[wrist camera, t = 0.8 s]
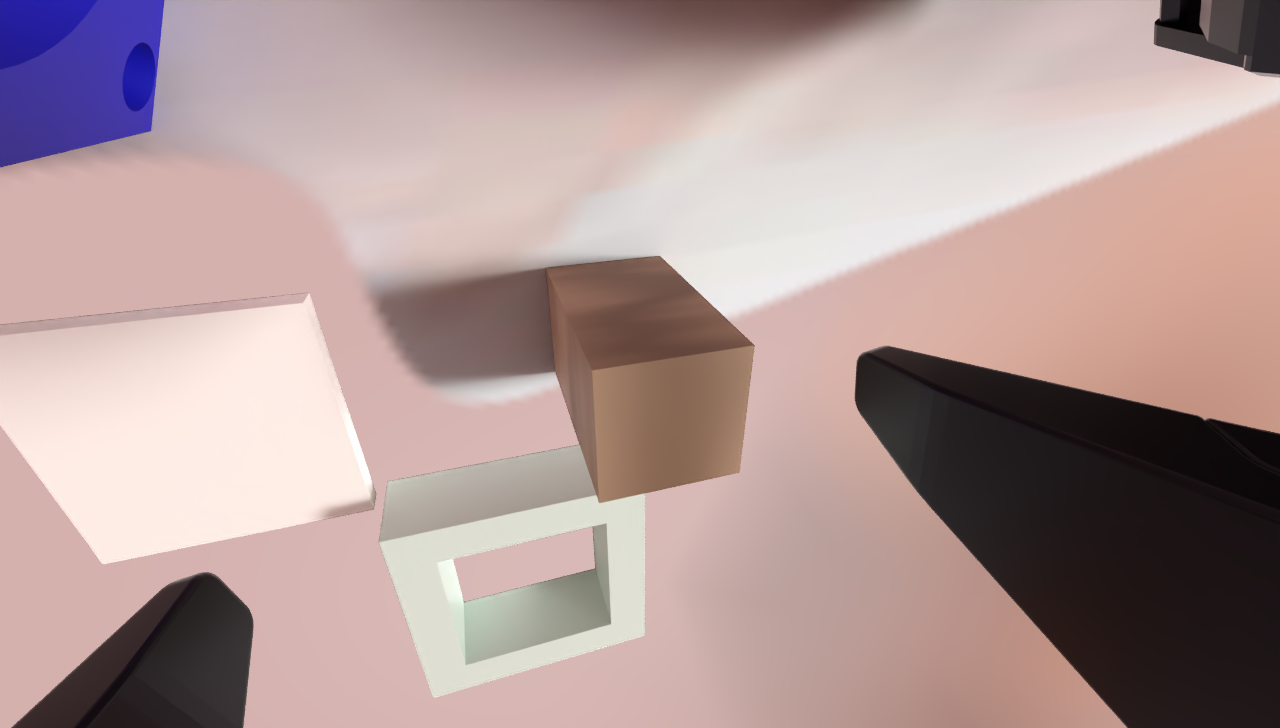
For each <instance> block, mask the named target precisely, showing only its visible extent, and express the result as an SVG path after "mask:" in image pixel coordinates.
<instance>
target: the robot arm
mask: <svg viewBox="0 0 1280 728" xmlns="http://www.w3.org/2000/svg"><path fill="white" fill-rule="evenodd" d="M1154 44H1155V45H1157V46H1161V47H1165V48H1168V49H1172V50H1176V51H1180V52H1184V53H1188V54H1192V55H1196V56H1200V57H1203V58H1207V59H1211V60H1215V61H1219V62H1223V63H1227V64H1231V65H1235V66H1238V67H1242V68H1244V70H1246V71H1249V72H1252V73H1254V74H1257V75H1260V76H1269V77H1280V0H1160V18H1159V19H1158V20H1157V21H1155V28H1154ZM855 402H856V405H857V408H858V411H859V412H860V414H861V416H862V417H863V418H864V420H865V421H866V422H867V424H868V425H869V427H870V428H871V429H872V431H873V432H874V433H875V435H876V436H877V438H878V439H879V440H880V442H881V443H882V445H883V446H884V447H885V449H886V450H887V451H888V453H889V454H890V456H891V457H892V458H893V460H894V461H895V463H896V464H897V465H898V467H899V468H900V469H901V471H902V472H903V474H904V475H905V476H906V478H907V479H908V480H909V482H910V483H911V484H912V486H913V487H914V488H915V489H916V491H917V492H918V493H919V494H920V496H921V497H922V498H923V499H924V500H925V501H926V503H927V504H928V505H929V506H930V507H931V508H932V510H933V511H934V512H935V513H936V514H937V515H938V516H939V517H940V519H941V520H943V522H944V523H945V524H946V525H947V526H948V527H949V528H950V530H951V531H952V532H953V533H954V534H955V535H956V536H957V538H958V539H959V540H960V541H961V542H962V543H963V544H964V545H965V546H966V548H967V549H968V550H969V551H970V552H971V553H972V554H973V555H974V557H975V558H976V559H977V560H978V561H979V562H980V563H981V564H982V565H983V567H984V568H985V569H986V570H987V571H988V572H989V573H990V574H991V576H992V577H993V578H994V579H995V580H996V581H997V582H998V583H999V585H1000V586H1001V587H1002V588H1003V589H1004V590H1005V591H1006V592H1007V593H1008V595H1009V596H1010V597H1011V598H1012V599H1013V600H1014V601H1015V603H1016V604H1017V605H1018V606H1019V607H1020V608H1021V609H1022V610H1023V611H1024V613H1025V614H1026V615H1027V616H1028V617H1029V618H1030V619H1031V620H1032V622H1033V623H1034V624H1035V625H1036V626H1037V627H1038V628H1039V629H1040V631H1041V632H1042V633H1043V634H1044V635H1045V636H1046V637H1047V638H1048V639H1049V640H1050V642H1051V643H1052V644H1053V645H1054V646H1055V647H1056V648H1057V649H1058V651H1059V652H1060V653H1061V654H1062V655H1063V656H1064V657H1065V658H1066V660H1067V661H1068V662H1069V663H1070V664H1071V665H1072V666H1073V667H1074V669H1075V670H1076V671H1077V672H1078V673H1079V674H1080V675H1081V676H1082V677H1083V679H1084V680H1085V681H1086V682H1087V683H1088V684H1089V685H1090V687H1091V688H1092V689H1093V690H1094V691H1095V692H1096V693H1097V694H1098V695H1099V697H1100V698H1101V699H1102V700H1103V701H1104V702H1105V703H1106V704H1107V706H1108V707H1109V708H1110V709H1111V710H1112V711H1113V712H1114V713H1115V714H1116V716H1117V717H1118V718H1119V719H1120V720H1121V721H1122V722H1123V723H1124V725H1126V727H1127V728H1280V434H1279V433H1274V432H1270V431H1265V430H1260V429H1256V428H1251V427H1247V426H1242V425H1238V424H1234V423H1229V422H1225V421H1220V420H1216V419H1211V418H1208V419H1205V420H1204V419H1203V418H1202V417H1200V416H1198V415H1193V414H1189V413H1184V412H1180V411H1175V410H1171V409H1167V408H1162V407H1157V406H1153V405H1149V404H1144V403H1140V402H1135V401H1131V400H1126V399H1122V398H1118V397H1113V396H1108V395H1104V394H1100V393H1095V392H1091V391H1086V390H1082V389H1077V388H1073V387H1069V386H1064V385H1060V384H1055V383H1051V382H1046V381H1042V380H1038V379H1033V378H1028V377H1024V376H1019V375H1015V374H1011V373H1007V372H1002V371H998V370H993V369H989V368H984V367H979V366H975V365H971V364H966V363H962V362H957V361H953V360H949V359H944V358H940V357H936V356H931V355H927V354H922V353H918V352H913V351H908V350H904V349H900V348H895V347H891V346H882V347H878V348H875V349H872V350H869V351H867V352H864V353H862V354H861V355H860V356H859V357H858V360H857V367H856V384H855ZM252 637H253V618H252V614H251V612H250V610H249V608H248V607H247V606H246V605H245V604H244V603H243V602H242V601H241V600H240V599H239V598H238V597H237V596H236V595H235V594H234V593H233V592H232V591H231V589H229V588H228V586H227V585H225V583H224V582H223V581H222V580H221V579H220V578H219V577H217V576H216V575H215V574H212V573H209V572H204V573H199V574H195V575H193V576H189V577H186V578H183V579H180V580H177V581H175V582H172V583H170V584H168V585H167V586H165V587H164V588H163V589H161V591H159V592H158V593H157V594H156V595H155V596H154V597H153V598H152V599H151V600H149V601H148V602H147V603H146V604H145V605H144V606H143V607H142V608H141V609H140V610H139V611H138V612H136V613H135V614H134V615H133V616H132V617H131V618H130V619H129V620H128V621H127V622H126V623H125V624H124V625H122V626H121V627H120V628H119V629H118V630H117V631H116V632H115V633H114V634H113V635H112V636H111V637H110V638H108V639H107V640H106V641H105V642H104V643H103V644H102V645H101V646H100V647H98V648H97V649H96V650H95V651H94V652H93V653H92V654H91V655H90V656H89V657H88V658H87V659H86V660H84V661H83V662H82V663H81V664H80V665H79V666H78V667H77V668H76V669H75V670H73V671H72V672H71V673H70V674H69V675H68V676H67V677H66V678H65V679H64V680H63V681H62V682H61V683H60V684H58V685H57V686H56V687H55V688H54V689H53V690H52V691H51V692H50V693H49V694H47V695H46V696H45V697H44V698H43V699H42V700H41V701H40V702H39V703H38V704H37V705H35V707H34V708H32V709H31V710H30V711H29V712H28V713H27V714H26V715H25V716H24V717H23V718H21V719H20V720H19V721H18V722H17V723H16V724H15V725H14V726H13V727H12V728H243V725H244V715H245V705H246V696H247V686H248V676H249V666H250V657H251V647H252Z"/></svg>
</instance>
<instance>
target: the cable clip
mask: <svg viewBox="0 0 1280 728" xmlns="http://www.w3.org/2000/svg"><path fill="white" fill-rule="evenodd" d="M163 8H164V0H0V167H4V166H8V165H12V164H16V163H20V162H24V161H29V160H33V159H37V158H41V157H45V156H49V155H53V154H58V153H62V152H66V151H70V150H74V149H78V148H82V147H86V146H91V145H95V144H99V143H103V142H107V141H111V140H115V139H120V138H124V137H128V136H132V135H136V134H140V133H144V132H149V131H151V125H152V116H153V106H154V96H155V86H156V76H157V67H158V57H159V47H160V37H161V27H162V18H163Z"/></svg>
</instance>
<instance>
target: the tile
mask: <svg viewBox="0 0 1280 728" xmlns="http://www.w3.org/2000/svg"><path fill="white" fill-rule="evenodd" d="M0 426H1V427H2V429H3V430H4V432H5V433H6V434H7V435H8V437H9V438H10V440H11V441H12V442H13V444H14V445H15V446H16V448H17V449H18V450H19V452H20V453H21V454H22V456H23V457H24V458H25V460H26V461H27V463H28V464H29V465H30V467H31V468H32V469H33V471H34V472H35V473H36V475H37V476H38V477H39V479H40V480H41V482H42V483H43V484H44V485H45V487H46V488H47V490H48V491H49V492H50V494H51V495H52V496H53V498H54V499H55V500H56V502H57V503H58V504H59V506H60V507H61V509H62V510H63V511H64V512H65V514H66V515H67V517H68V518H69V519H70V521H71V522H72V523H73V525H74V526H75V528H76V529H77V530H78V532H79V533H80V534H81V536H82V537H83V538H84V540H85V541H86V542H87V544H88V545H89V546H90V548H91V549H92V550H93V552H94V553H95V554H96V556H97V557H98V559H99V560H100V561H101V563H102V564H107V563H112V562H117V561H122V560H127V559H132V558H136V557H142V556H146V555H152V554H156V553H161V552H166V551H171V550H176V549H181V548H186V547H191V546H196V545H201V544H206V543H211V542H216V541H220V540H225V539H230V538H235V537H240V536H245V535H250V534H255V533H260V532H265V531H270V530H275V529H279V528H285V527H289V526H294V525H299V524H304V523H309V522H314V521H319V520H324V519H329V518H334V517H339V516H344V515H349V514H353V513H359V512H363V511H368V510H373V509H374V505H375V499H376V492H375V489H374V486H373V483H372V480H371V477H370V474H369V471H368V468H367V465H366V462H365V459H364V456H363V453H362V450H361V447H360V444H359V441H358V438H357V435H356V432H355V429H354V426H353V423H352V420H351V417H350V414H349V411H348V408H347V405H346V402H345V399H344V396H343V392H342V389H341V387H340V384H339V381H338V378H337V374H336V372H335V369H334V366H333V363H332V360H331V356H330V354H329V350H328V347H327V345H326V341H325V339H324V335H323V332H322V329H321V326H320V323H319V320H318V317H317V314H316V311H315V309H314V306H313V302H312V299H311V296H310V293H301V294H292V295H282V296H272V297H263V298H254V299H243V300H235V301H225V302H214V303H206V304H195V305H185V306H176V307H167V308H157V309H147V310H137V311H129V312H128V311H127V312H118V313H108V314H99V315H89V316H79V317H69V318H60V319H50V320H40V321H31V322H21V323H11V324H1V325H0Z"/></svg>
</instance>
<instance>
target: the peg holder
mask: <svg viewBox="0 0 1280 728" xmlns="http://www.w3.org/2000/svg"><path fill="white" fill-rule="evenodd" d="M588 527H593V541H594V555H595V569H592V570H588V571H584V572H580V573H576V574H572V575H568V576H564V577H560V578H556V579H552V580H548V581H544V582H540V583H537V584H533V585H529V586H525V587H521V588H517V589H513V590H509V591H505V592H501V593H497V594H494V595H489V596H486V597H481V598H477V599H474V600H470V601H466V602H464V601H463V597H462V593H461V589H460V585H459V581H458V578H457V573H456V569H455V566H454V562H453V559H455V558H459V557H464V556H468V555H472V554H477V553H481V552H485V551H489V550H494V549H498V548H503V547H507V546H511V545H515V544H520V543H524V542H528V541H533V540H537V539H541V538H545V537H550V536H554V535H558V534H562V533H567V532H571V531H575V530H580V529H584V528H588ZM379 545H380V547H381V550H382V553H383V556H384V559H385V562H386V565H387V567H388V570H389V573H390V576H391V579H392V582H393V584H394V587H395V590H396V593H397V596H398V599H399V602H400V604H401V607H402V610H403V613H404V616H405V619H406V622H407V624H408V627H409V630H410V633H411V636H412V639H413V641H414V644H415V647H416V650H417V653H418V656H419V658H420V661H421V664H422V667H423V670H424V673H425V676H426V678H427V681H428V684H429V687H430V690H431V693H432V696H433V698H435V697H438V696H442V695H445V694H449V693H452V692H455V691H459V690H462V689H466V688H469V687H472V686H475V685H479V684H482V683H486V682H489V681H493V680H496V679H500V678H502V677H506V676H510V675H513V674H516V673H520V672H523V671H527V670H530V669H533V668H537V667H540V666H543V665H547V664H550V663H554V662H557V661H560V660H564V659H567V658H571V657H574V656H577V655H581V654H584V653H588V652H591V651H594V650H598V649H601V648H605V647H608V646H611V645H615V644H618V643H622V642H625V641H628V640H632V639H635V638H639V637H641V636H644V634H645V622H644V621H645V493H644V494H640V495H635V496H630V497H626V498H621V499H617V500H612V501H608V502H603V503H599V501H598V498H597V495H596V492H595V489H594V486H593V483H592V480H591V477H590V474H589V471H588V468H587V465H586V462H585V459H584V456H583V453H582V450H581V447H580V445H575V446H569V447H564V448H559V449H554V450H549V451H543V452H539V453H533V454H528V455H522V456H517V457H512V458H507V459H502V460H496V461H491V462H486V463H481V464H476V465H470V466H466V467H460V468H455V469H449V470H444V471H439V472H434V473H429V474H423V475H418V476H413V477H408V478H402V479H397V480H392V481H388V482H387V489H386V496H385V504H384V510H383V517H382V524H381V532H380V538H379Z"/></svg>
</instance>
